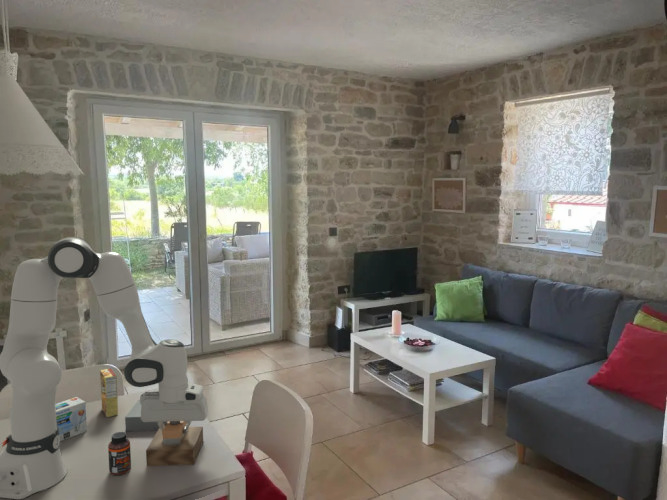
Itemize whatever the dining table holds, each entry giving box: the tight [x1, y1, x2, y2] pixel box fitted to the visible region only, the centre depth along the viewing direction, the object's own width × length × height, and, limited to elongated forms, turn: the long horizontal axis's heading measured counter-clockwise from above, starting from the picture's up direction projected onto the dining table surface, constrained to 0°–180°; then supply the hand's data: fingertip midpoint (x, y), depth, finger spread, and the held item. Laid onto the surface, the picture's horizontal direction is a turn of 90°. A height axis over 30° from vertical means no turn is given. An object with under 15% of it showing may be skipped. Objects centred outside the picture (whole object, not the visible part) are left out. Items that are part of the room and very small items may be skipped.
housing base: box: [163, 424, 187, 447], centre depth 153 cm, size 10×5×2 cm, turn 3°
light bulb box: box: [55, 396, 88, 442], centre depth 165 cm, size 11×7×11 cm, turn 143°
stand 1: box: [124, 399, 167, 432], centre depth 175 cm, size 14×14×5 cm
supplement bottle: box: [107, 431, 132, 476], centre depth 144 cm, size 6×6×11 cm
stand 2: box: [145, 426, 204, 467], centre depth 154 cm, size 14×14×5 cm
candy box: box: [99, 368, 119, 418], centre depth 181 cm, size 9×4×15 cm, turn 37°
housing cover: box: [162, 421, 186, 439], centre depth 153 cm, size 10×5×4 cm, turn 3°
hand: (175, 433), depth 153 cm, fingers closed on housing base, housing cover, 5 cm apart
